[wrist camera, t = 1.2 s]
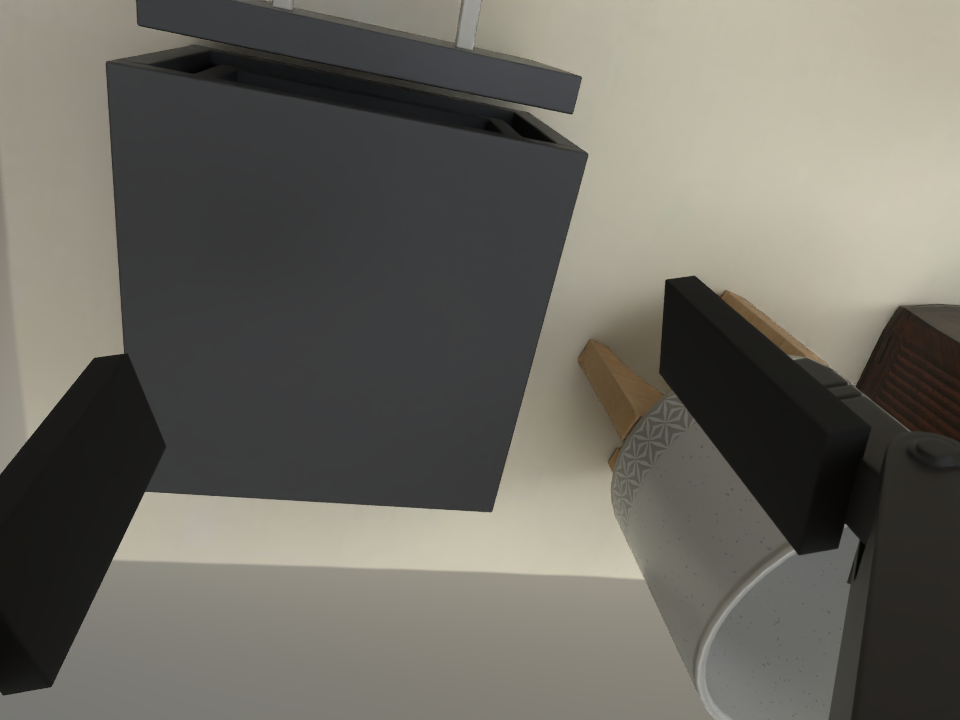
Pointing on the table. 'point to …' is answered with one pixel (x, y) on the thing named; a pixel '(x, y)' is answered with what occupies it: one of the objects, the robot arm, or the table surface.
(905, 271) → the table surface
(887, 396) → the manual coffee grinder
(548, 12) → the table surface
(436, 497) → the cabinet
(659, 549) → the planter
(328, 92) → the drawer
